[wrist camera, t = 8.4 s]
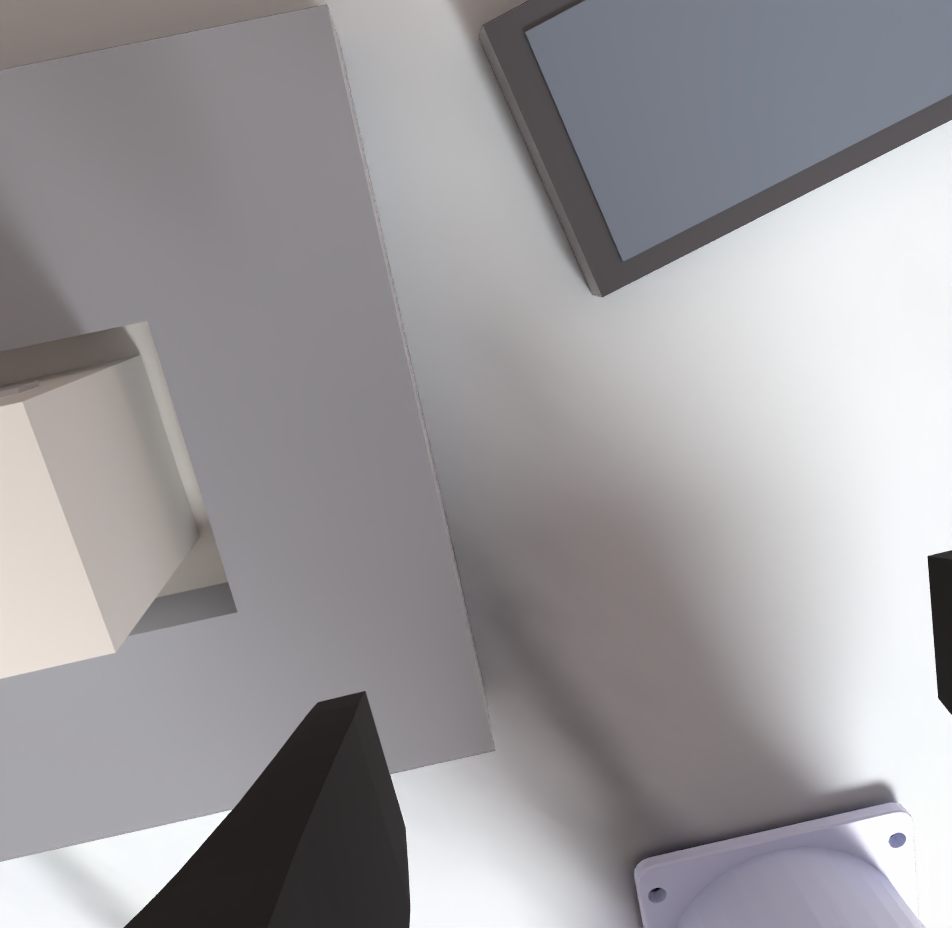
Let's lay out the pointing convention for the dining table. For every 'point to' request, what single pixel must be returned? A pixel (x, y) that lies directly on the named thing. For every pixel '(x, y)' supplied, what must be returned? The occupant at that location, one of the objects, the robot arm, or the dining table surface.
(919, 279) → the dining table surface
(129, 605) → the brick
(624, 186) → the tablet with stylus
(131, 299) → the socket plate
